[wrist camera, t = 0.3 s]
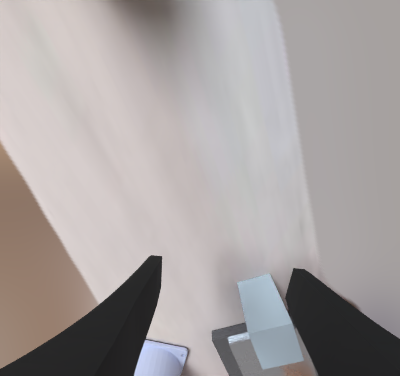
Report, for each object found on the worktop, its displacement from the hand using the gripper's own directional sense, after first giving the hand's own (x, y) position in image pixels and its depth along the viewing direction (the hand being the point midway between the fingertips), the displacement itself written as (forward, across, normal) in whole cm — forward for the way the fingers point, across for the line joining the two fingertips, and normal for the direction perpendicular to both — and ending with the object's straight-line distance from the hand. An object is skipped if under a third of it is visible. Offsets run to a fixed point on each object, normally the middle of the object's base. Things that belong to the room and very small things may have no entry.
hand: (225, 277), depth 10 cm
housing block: (+10, -7, +11) cm, 16 cm away
